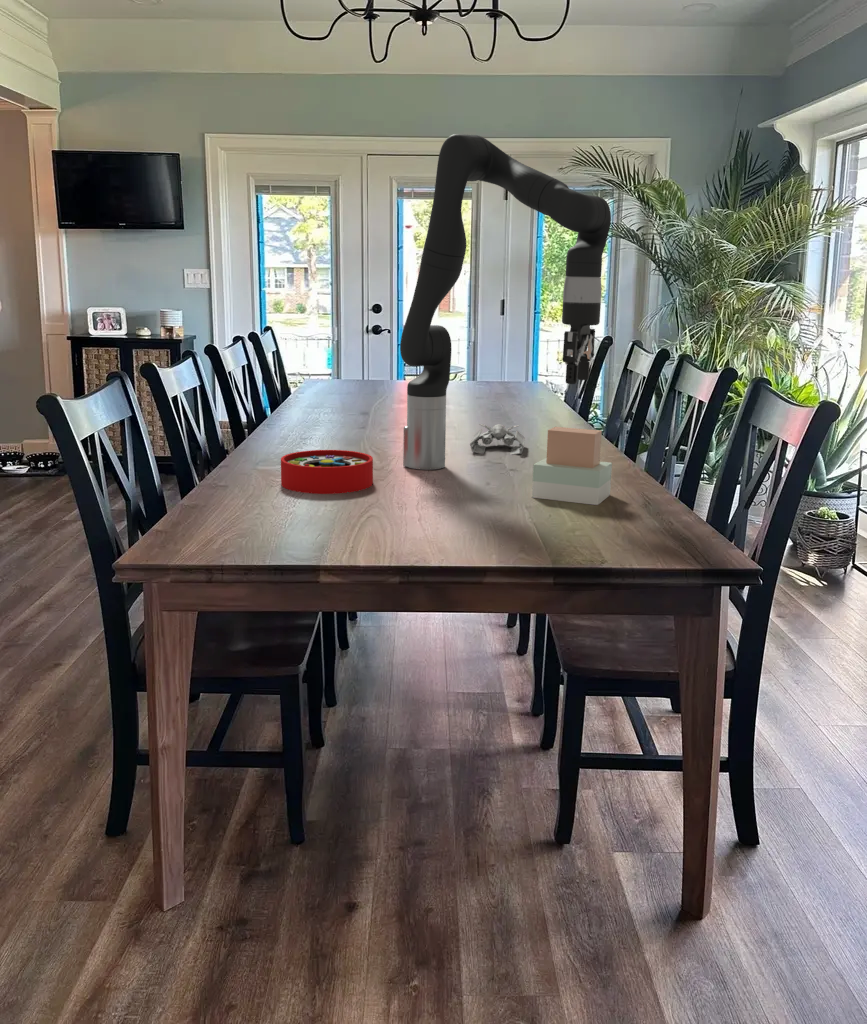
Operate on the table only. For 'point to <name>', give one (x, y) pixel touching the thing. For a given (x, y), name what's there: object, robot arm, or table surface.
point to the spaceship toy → (497, 433)
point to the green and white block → (571, 482)
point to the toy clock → (326, 471)
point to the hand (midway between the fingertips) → (577, 381)
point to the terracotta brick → (574, 447)
